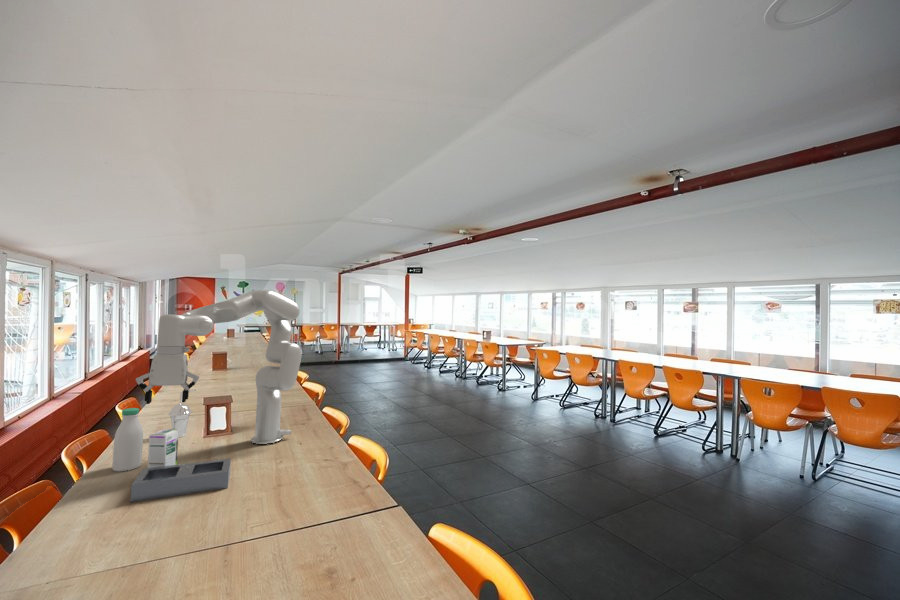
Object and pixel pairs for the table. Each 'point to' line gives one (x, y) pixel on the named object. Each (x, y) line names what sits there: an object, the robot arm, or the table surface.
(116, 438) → the milk bottle
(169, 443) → the syrup box
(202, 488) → the slotted tray
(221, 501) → the table surface
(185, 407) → the cup with straw
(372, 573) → the table surface
